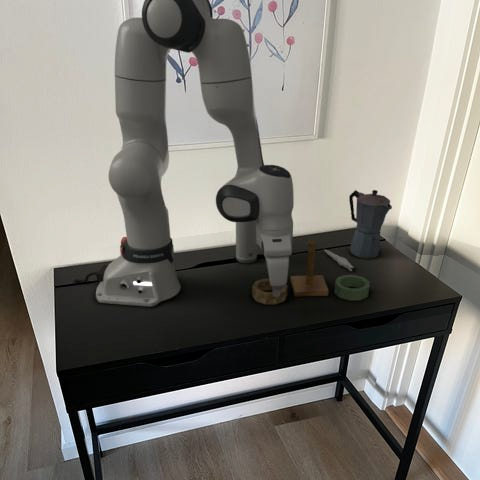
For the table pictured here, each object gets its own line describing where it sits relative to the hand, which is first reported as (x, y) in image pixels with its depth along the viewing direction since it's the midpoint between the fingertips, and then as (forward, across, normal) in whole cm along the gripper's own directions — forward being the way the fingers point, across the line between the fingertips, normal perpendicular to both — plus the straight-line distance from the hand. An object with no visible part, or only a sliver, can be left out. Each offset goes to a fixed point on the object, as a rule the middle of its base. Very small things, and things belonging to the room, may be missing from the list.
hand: (274, 286), depth 131 cm
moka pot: (+6, -29, +30) cm, 43 cm away
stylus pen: (+6, -23, +21) cm, 32 cm away
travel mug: (+5, -27, -6) cm, 28 cm away
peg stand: (+5, -8, +10) cm, 14 cm away
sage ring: (+5, -4, +21) cm, 22 cm away
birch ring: (+5, -4, -1) cm, 6 cm away
